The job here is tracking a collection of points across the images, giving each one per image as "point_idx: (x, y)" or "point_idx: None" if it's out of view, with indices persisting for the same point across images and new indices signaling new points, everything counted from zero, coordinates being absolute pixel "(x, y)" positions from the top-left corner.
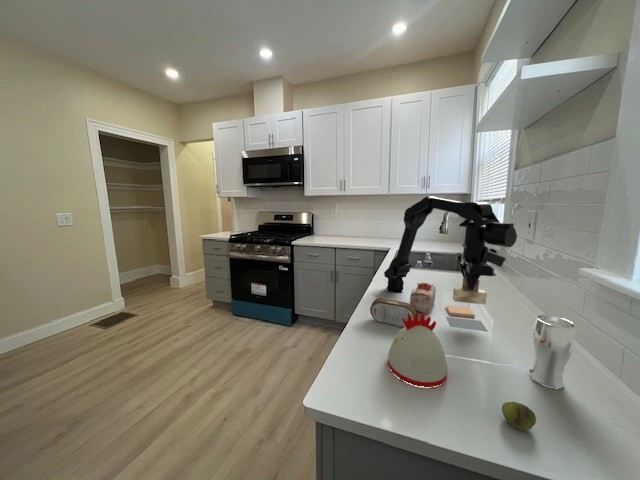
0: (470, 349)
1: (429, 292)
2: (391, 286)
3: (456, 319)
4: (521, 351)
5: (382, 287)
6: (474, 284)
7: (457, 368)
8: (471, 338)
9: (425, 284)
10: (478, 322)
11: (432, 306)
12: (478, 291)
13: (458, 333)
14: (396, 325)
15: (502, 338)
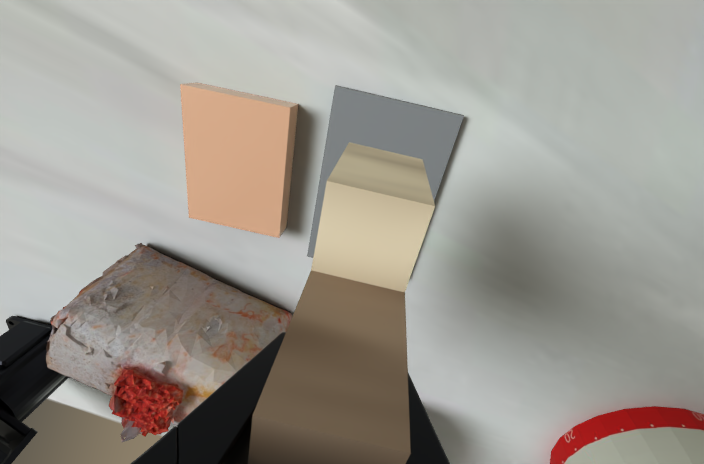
0: (593, 282)
1: (212, 390)
2: (57, 383)
3: None
4: (690, 35)
5: None
6: (435, 447)
7: (686, 375)
8: (509, 233)
9: (122, 405)
10: (357, 113)
11: (236, 298)
12: (382, 276)
13: (460, 266)
14: None
15: (535, 63)
